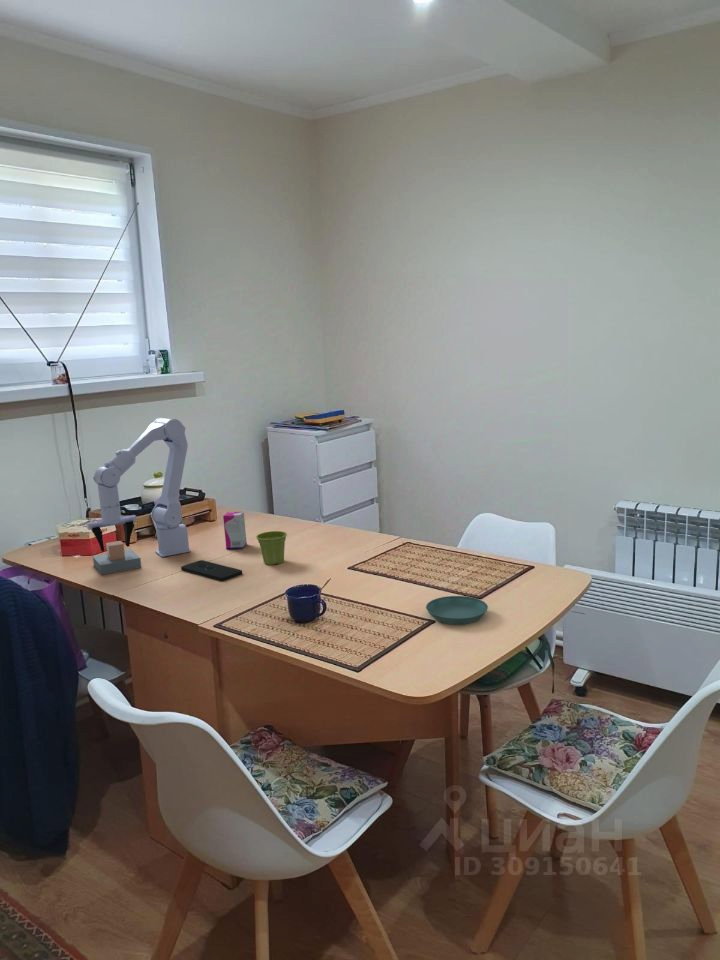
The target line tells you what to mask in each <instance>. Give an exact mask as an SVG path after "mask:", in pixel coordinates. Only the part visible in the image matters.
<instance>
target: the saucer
mask: <svg viewBox="0 0 720 960" xmlns="http://www.w3.org/2000/svg"><path fill="white" fill-rule="evenodd" d="M425 609H426V610H427V612H428V613H429V615H430V616H431V617H433V619H435V620H436V621H437V622H440V623H442V624H447V625H454V626H455V625H468V624H471V623H475V622H477V621H478V620H480V619H481V618H482V617H483V616H484V615H485V614H486V613H487V611H488V609H489V606H488V604H487V603H486V602H485V601H483V600H482V599H479V598H475V597H472V596H471V597H470V596H466V595H463V596H462V595H449V596H448V595H447V596H440V597H437V598H434V599H432V600H431V601H429V602H428V603H426V605H425Z"/></svg>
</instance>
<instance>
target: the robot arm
mask: <svg viewBox="0 0 720 960" xmlns="http://www.w3.org/2000/svg"><path fill="white" fill-rule="evenodd" d="M155 441H164V443H165V444H166V445H167V447H168V448H169V452H168V457H167V461H166V462H167V463H166V466H165V467H166V468H165V473H164V479H163V485H162V487H161V488H162V489H161V495H160V496H159V498H157V500H156V502H155V505H154V507H153V508H152V510H151V513H150V514H151V519H152V520H153V522H155V525H156V526H155V528H156V536H157V537H156V538H157V545H158V549H156V550H155V553H156V554H157V555H159V556H160V557H161V558H163V557H169V556H174V555H179V554H184V553H189V552H191V550H190V544H189V534H188V529H187V525H186V524H184V523H181V522H182V519H183V513H182V512H181V511H182V505H181V502H180V500H179V494H180V490H181V486H182V478H183V473H184V467H185V462H186V458H187V457H186V456H187V451H188V446H189V445H188V440H187V436H186V427H185V426H184V424H183V422H181V421H180V420H179V419H177V418H165V417H157V418H156V419H155V420H154V421H153V422H151V423H150V424H149V425H148V426H147V428H146V430H145V431H144V432H142V433H141V435H140V436H138V437H137V439H136V440H135V441H134V442H133V443H132V444H131V445H130V446H129V447H128V448H127V449H120V450H117V451H115V455H114V456H113V457H112V458H111V459H110V460H108V461H106V462H105V463H104V466H99V467H98V468H97V469H96V470H95V472H94V475H93V476H92V478H93V481H94V482H95V484H96V485H97V489H98V499H99V507H100V515H101V519H98V520H95V521H90V522H86V527H87V530H88V531H91V532H92V533H93V535H94V537H95V539H96V540H97V543H98V545H99V547H100V551H101V552H105V546H104V542H103V540H104V539H103V530H102V528H106V527H111V526H113V527H114V526H118V525H122V526H123V531H124V532H123V533H124V543H125V546H126V547H130V543H131V536H132V533H133V530H134V528H135V523H138V522H137V515H135V514H132V515H124V516H122V515H121V514H122V512H121V505H120V496H119V495H120V494H119V488H118V487H119V486H118V484H119V483H120V481H121V477H122V476H123V475H124V474H125V473H126V472H127V471H128V470H129V469H130V468H131V467H132V466H133V465H134V464H135V463H136V457H137V456H139V454H141V453H142V452H143V451H144V450H145V449H146V448H148V447H149V446H150V445H152V443H153V442H155Z"/></svg>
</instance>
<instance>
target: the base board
mask: <svg viewBox="0 0 720 960" xmlns="http://www.w3.org/2000/svg"><path fill="white" fill-rule="evenodd" d="M124 553H125V558H121V559H115V560H109V558H108V556H107V553H103V554H98V555H93V556H92V562H93V566H94V568H95V567H96V568H95V569H96V570H97V571H98V573H100V575H101V576H104V575H107V574H108V573H109V574H113V573H114V574H115V573H119V572H123V571H124V572H125V571H129V570H133V569H138V568H142V562H141V557H140V556H139V555H138V554H137V553H136V552H135V551H134V550H133V549H132V548H131V549H124ZM118 571H119V572H118ZM103 574H104V575H103Z"/></svg>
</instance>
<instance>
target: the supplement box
mask: <svg viewBox="0 0 720 960" xmlns="http://www.w3.org/2000/svg"><path fill="white" fill-rule="evenodd" d="M222 518H223V527H224V530H223V531H224V537H225V539H224V540H225V549H226V550H243V549H244V548H245V547H246V546H247V544H248V543H247V533H246V532H247V531H246V522H245V521H246V520H245V511H227V512H226V513H225V514H224V515H223V516H222Z"/></svg>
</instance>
